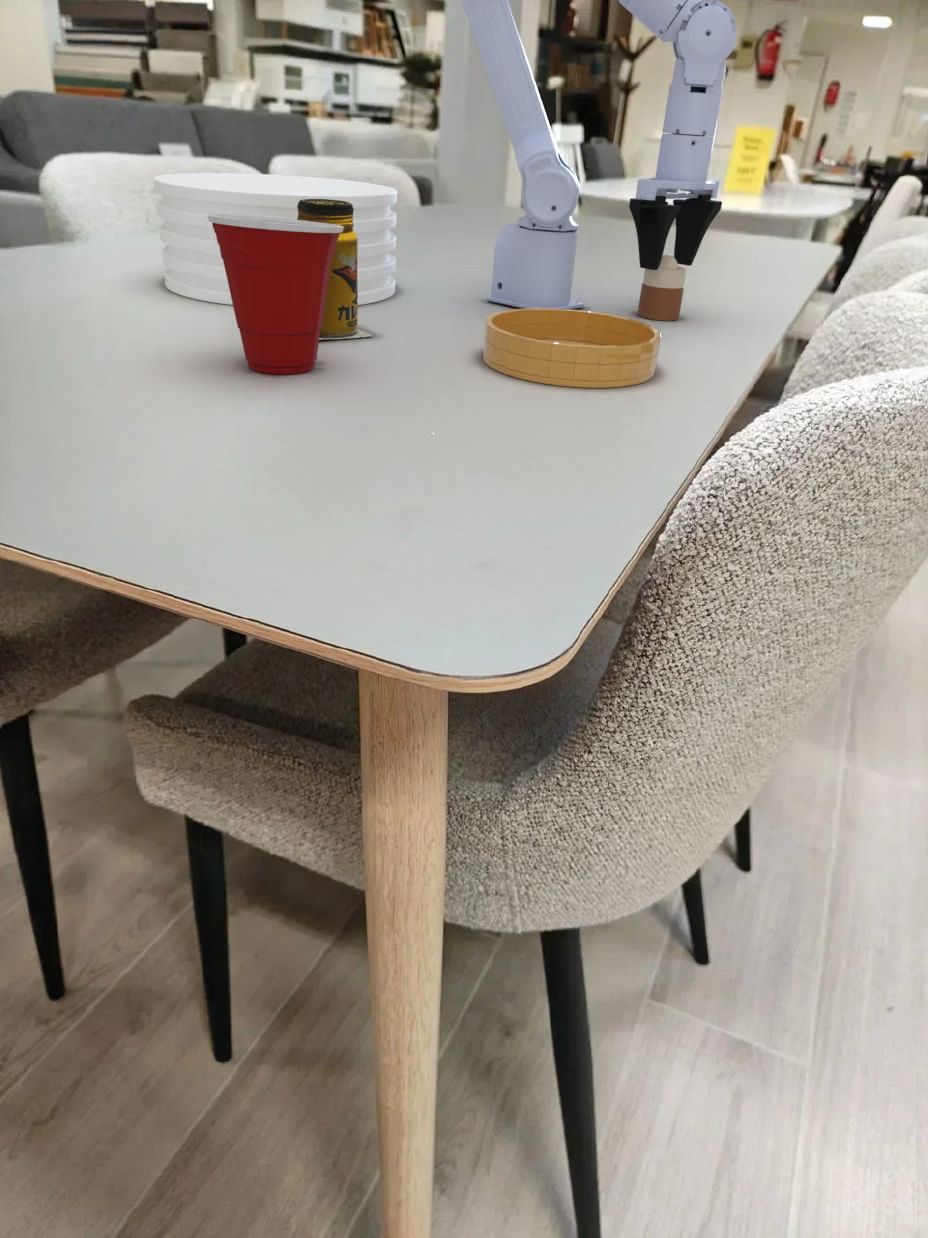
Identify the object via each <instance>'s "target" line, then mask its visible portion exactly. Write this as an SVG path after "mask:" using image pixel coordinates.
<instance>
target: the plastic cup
mask: <svg viewBox="0 0 928 1238" xmlns="http://www.w3.org/2000/svg"><path fill="white" fill-rule="evenodd" d="M207 216H208V220H209V222H212V226H213V228H214V232H215V233H216V237H217V243H218V244H219V247H220V252H221V257H222V259H223V262H224V266H225V271H226V276H227V280H228V285H229V289H230V294H231V298H232V303H233V305H232V307H233V312H234V316H235V320H236V321H235V322H236V327H237V329H239V333H240V338H241V343H242V348H243V352H244V356H245V360H246V361H247V365H248V368H250V369H251V370H253V371H256V372H258V373H264V374H272V375H294V374H303V373H305V372H309V371H310V372H311V371H312V370H313V369H314V368H315V364H316V361H317V359H318V352H319V351H318V350H319V344H320V340H319V336H320V329H321V328H322V322H323V315H324V308H325V301H326V294H327V287H328V280H329V273H330V266H331V264H332V260H333V253H334V251H335V248H336V242H337V241H338V237H339V233H341V232H343V229H344V227H343V226H341V225H335V224H328V223H321V222H312V221H304V220H294V219H284V218H272V217H260V216H246V215H228V214H207Z"/></svg>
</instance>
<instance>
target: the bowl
mask: <svg viewBox="0 0 928 1238" xmlns="http://www.w3.org/2000/svg"><path fill="white" fill-rule="evenodd" d="M483 331H484V332H483V345H482V350H483V356H482V357H483V362H484V363H485V364H486V365H487V366H488V367H489V368H491V369H493V370H495V371H496V372H499V373H501V374H504V375H507V376H509V377H513V378H516V379H520V380H523V381H528V382H529V381H530V382H534V383H538V384H544V385H550V386H551V385H552V386H558V387H568V388H569V387H570V388H583V389H584V388H586V389H588V388H589V389H609V388H622V387H627V386H628V387H629V386H634V385H635V386H636V385H639V384H643V383H644V382H647V381H649V380H650V379H652V378H653V377H654V375H655V372H656V368H657V363H658V355H659V350H660V346H661V345H660V344H661V339H662V334H661V332H660V331H659V330H658V329H657V328H655V327H654V326H652V325H650V324H648V323H645V322H642V321H639V320H636V319H632V318H629V317H624V316H620V315H615V314H611V313H610V314H609V313H605V312H598V311H597V312H596V311H592V310H591V311H589V310H581V309H554V308H526V309H523V308H514V309H508V310H501V311H497V312H494V313H492V314H489V315H488V316H487V317H486V318H485V320H484V330H483Z"/></svg>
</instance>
